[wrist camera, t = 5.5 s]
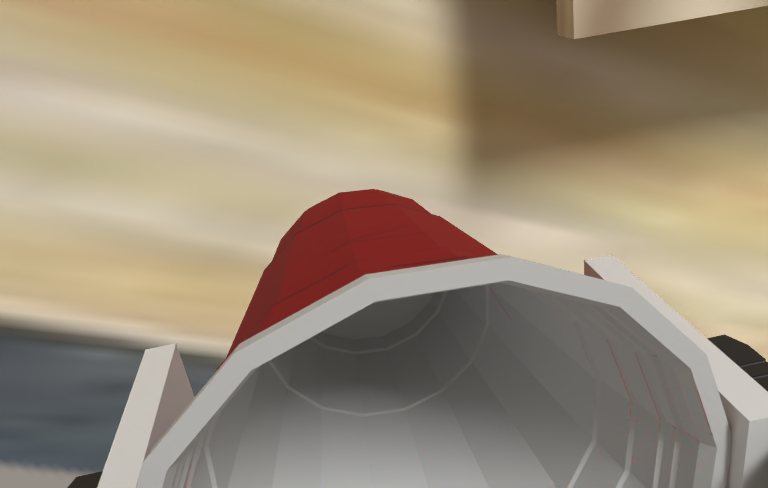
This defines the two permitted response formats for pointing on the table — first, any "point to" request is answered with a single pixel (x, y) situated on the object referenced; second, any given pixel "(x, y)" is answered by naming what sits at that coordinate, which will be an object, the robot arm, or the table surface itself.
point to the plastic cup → (442, 372)
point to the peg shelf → (636, 14)
